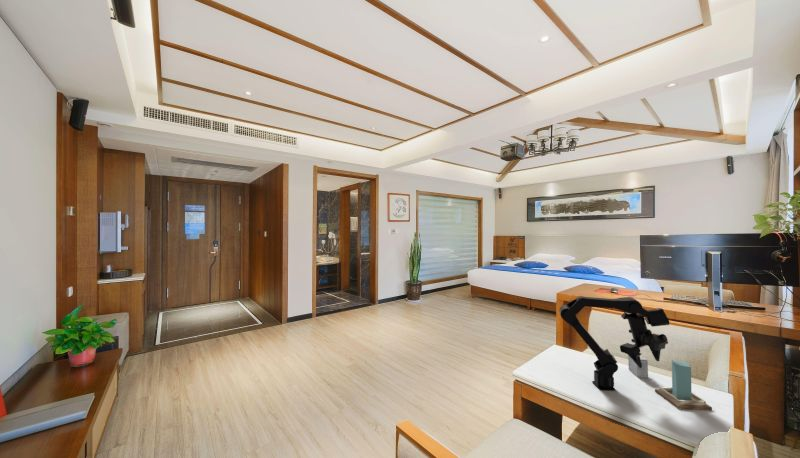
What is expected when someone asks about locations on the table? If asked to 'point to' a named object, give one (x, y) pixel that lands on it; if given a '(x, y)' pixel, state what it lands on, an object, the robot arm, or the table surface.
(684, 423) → the table surface
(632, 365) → the medicine box
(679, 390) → the column block
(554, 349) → the table surface
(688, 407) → the base plate
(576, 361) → the table surface
